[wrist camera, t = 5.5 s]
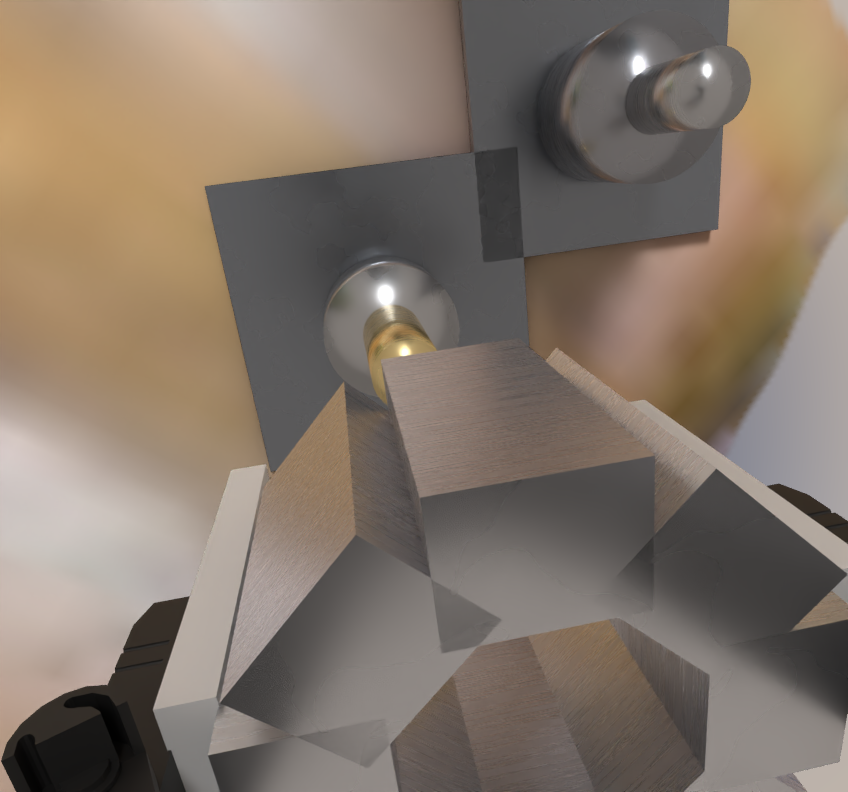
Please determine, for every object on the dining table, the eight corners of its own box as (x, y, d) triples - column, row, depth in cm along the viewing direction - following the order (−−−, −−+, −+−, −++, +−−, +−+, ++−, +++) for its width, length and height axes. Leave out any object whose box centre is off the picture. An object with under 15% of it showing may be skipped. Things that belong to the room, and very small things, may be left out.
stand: (456, -25, 26) (523, -127, 17) (723, -52, 27) (916, -161, 18) (480, 261, 30) (544, 299, 21) (710, 228, 32) (862, 251, 23)
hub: (207, 185, 27) (149, 193, 19) (513, 147, 29) (596, 136, 20) (271, 466, 32) (250, 578, 24) (530, 422, 34) (603, 512, 25)
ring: (222, 384, 11) (139, 548, 6) (663, 315, 11) (895, 412, 7) (307, 729, 13) (296, 1025, 9) (658, 656, 14) (818, 891, 10)
